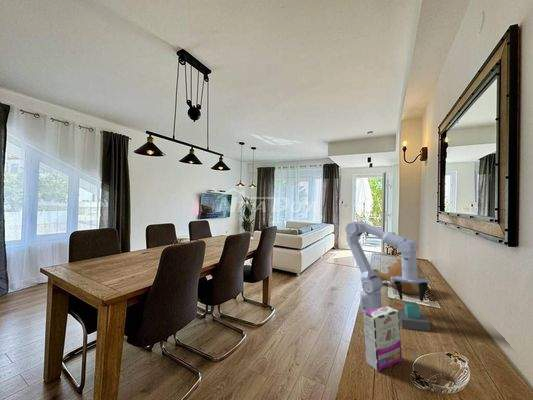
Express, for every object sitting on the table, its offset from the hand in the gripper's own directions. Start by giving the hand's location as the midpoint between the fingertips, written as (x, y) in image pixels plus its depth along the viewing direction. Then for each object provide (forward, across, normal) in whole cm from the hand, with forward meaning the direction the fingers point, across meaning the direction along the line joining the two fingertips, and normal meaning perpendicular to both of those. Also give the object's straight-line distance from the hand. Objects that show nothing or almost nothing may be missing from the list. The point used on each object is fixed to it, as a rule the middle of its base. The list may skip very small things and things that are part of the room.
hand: (411, 299), depth 100 cm
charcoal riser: (+10, 0, -1) cm, 10 cm away
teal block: (+6, 0, -1) cm, 6 cm away
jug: (+10, +4, +44) cm, 45 cm away
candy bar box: (+10, -16, -31) cm, 36 cm away
